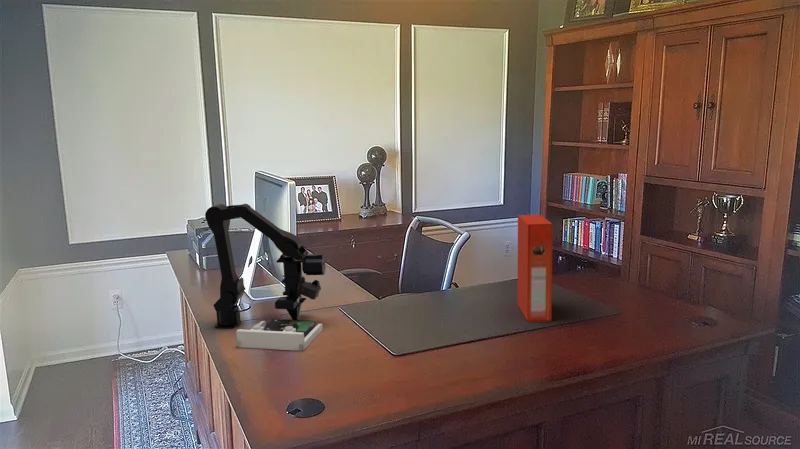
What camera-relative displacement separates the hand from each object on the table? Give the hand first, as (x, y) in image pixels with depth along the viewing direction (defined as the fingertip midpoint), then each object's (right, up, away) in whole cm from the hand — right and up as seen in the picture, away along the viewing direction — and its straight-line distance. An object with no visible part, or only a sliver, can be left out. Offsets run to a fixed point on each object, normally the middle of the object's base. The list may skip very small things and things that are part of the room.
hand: (295, 321), depth 194 cm
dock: (-2, -3, -11) cm, 12 cm away
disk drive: (-1, -3, -5) cm, 6 cm away
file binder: (+79, +2, +6) cm, 79 cm away
